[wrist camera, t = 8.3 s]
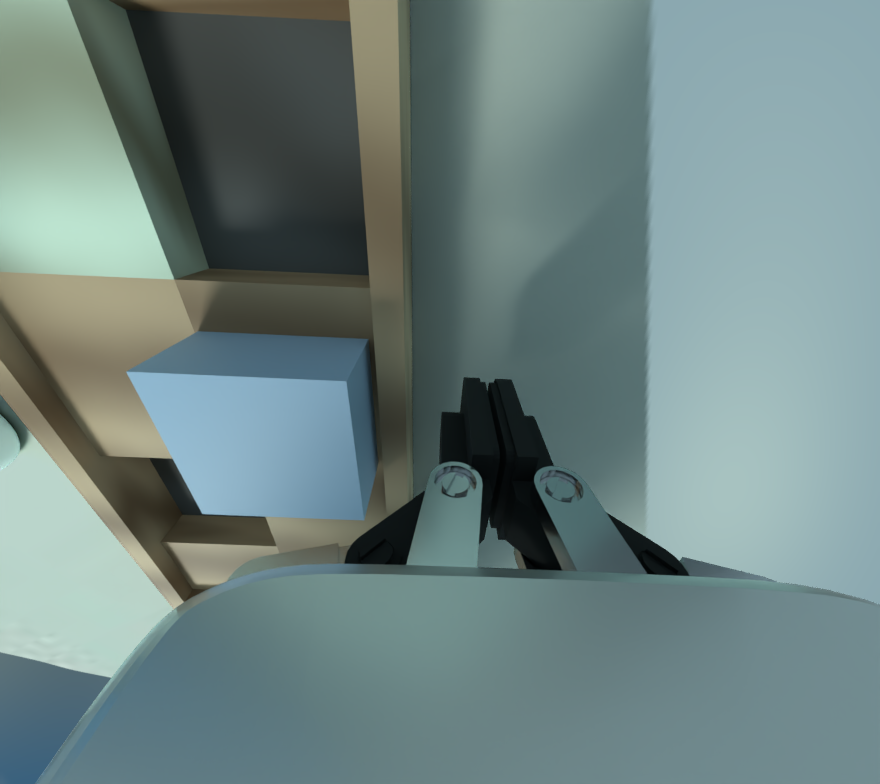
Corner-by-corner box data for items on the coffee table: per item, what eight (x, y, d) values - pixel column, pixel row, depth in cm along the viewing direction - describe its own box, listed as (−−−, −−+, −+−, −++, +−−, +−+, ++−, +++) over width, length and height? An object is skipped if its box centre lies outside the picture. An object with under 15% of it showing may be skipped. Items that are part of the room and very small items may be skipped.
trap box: (413, 573, 23) (410, 618, 21) (202, 566, 23) (174, 609, 20) (408, -168, 7) (390, -350, 5) (-279, -207, 7) (-652, -413, 5)
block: (378, 463, 15) (364, 520, 12) (245, 457, 14) (202, 513, 12) (368, 338, 11) (346, 381, 9) (198, 331, 11) (126, 371, 9)
